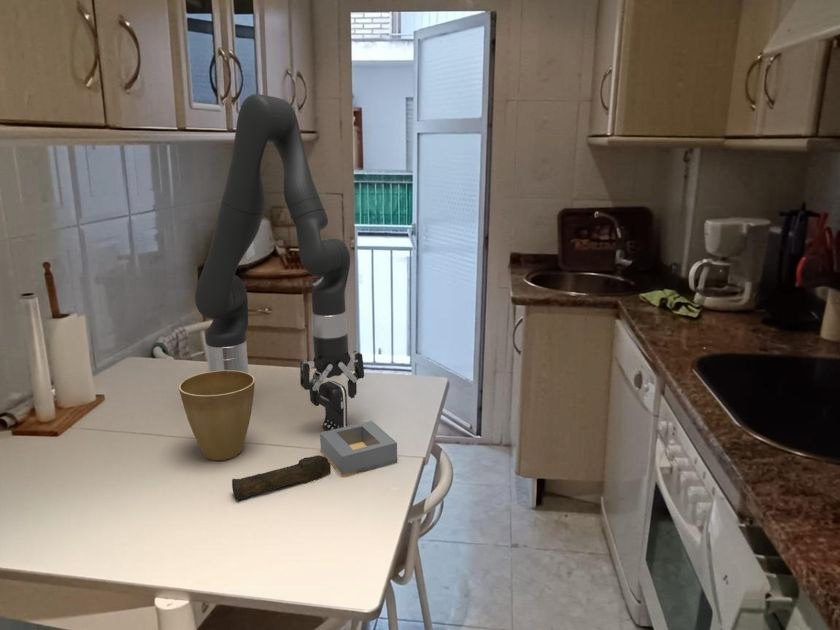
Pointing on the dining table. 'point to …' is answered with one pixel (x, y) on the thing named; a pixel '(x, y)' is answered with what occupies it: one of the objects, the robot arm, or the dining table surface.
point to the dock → (358, 448)
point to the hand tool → (282, 477)
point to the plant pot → (219, 410)
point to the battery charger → (333, 404)
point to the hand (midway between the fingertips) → (334, 400)
